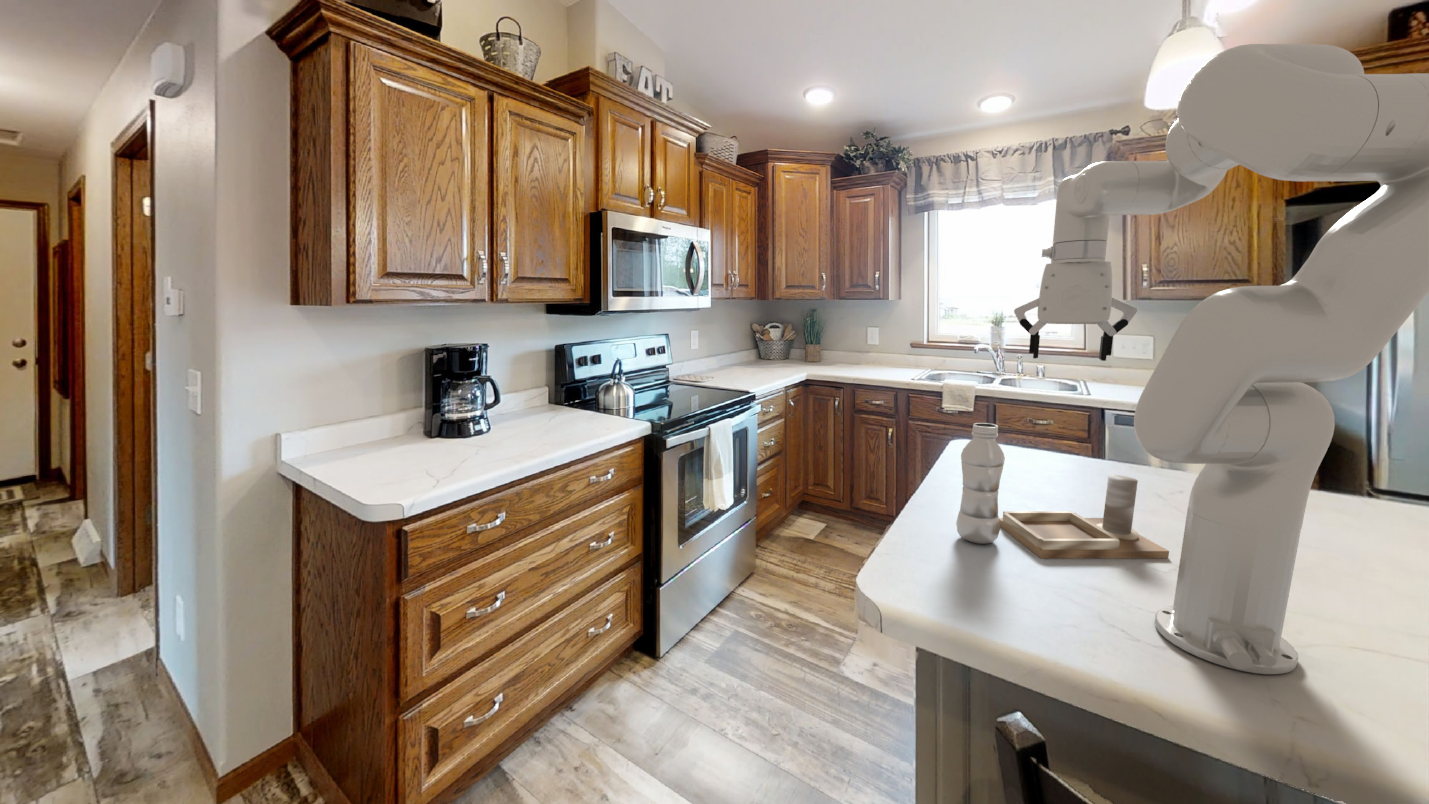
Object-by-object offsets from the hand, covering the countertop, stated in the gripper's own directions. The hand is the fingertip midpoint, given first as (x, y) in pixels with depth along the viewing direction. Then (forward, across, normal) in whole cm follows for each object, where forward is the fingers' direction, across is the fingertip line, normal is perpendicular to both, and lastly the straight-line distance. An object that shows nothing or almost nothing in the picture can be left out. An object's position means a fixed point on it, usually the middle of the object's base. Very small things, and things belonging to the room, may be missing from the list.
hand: (1068, 358), depth 96 cm
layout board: (+30, +4, -3) cm, 31 cm away
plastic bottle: (+31, -11, -11) cm, 34 cm away
